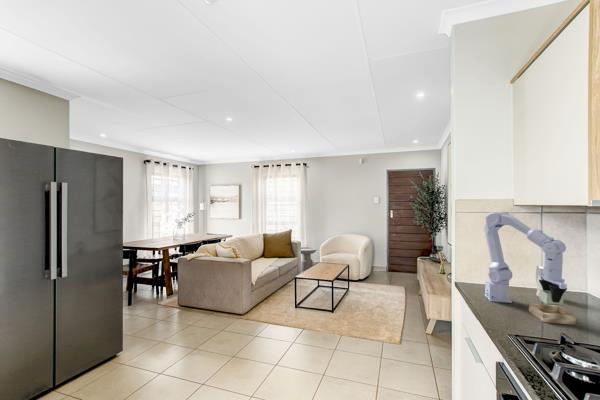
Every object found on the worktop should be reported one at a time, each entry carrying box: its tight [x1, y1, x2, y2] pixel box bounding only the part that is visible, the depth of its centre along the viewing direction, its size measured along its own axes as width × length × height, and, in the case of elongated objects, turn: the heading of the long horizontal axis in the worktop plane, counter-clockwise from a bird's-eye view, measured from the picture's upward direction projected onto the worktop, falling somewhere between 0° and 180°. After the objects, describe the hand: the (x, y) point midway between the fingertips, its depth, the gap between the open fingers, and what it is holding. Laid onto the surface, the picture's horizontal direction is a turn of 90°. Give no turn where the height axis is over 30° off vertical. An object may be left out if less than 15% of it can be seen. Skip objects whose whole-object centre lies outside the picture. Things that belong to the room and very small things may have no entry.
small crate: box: [539, 290, 565, 307], centre depth 123 cm, size 6×5×4 cm
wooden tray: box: [528, 303, 577, 326], centre depth 123 cm, size 12×11×4 cm
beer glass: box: [535, 265, 545, 298], centre depth 146 cm, size 7×7×15 cm
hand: (551, 299), depth 123 cm, fingers closed on small crate, 5 cm apart
